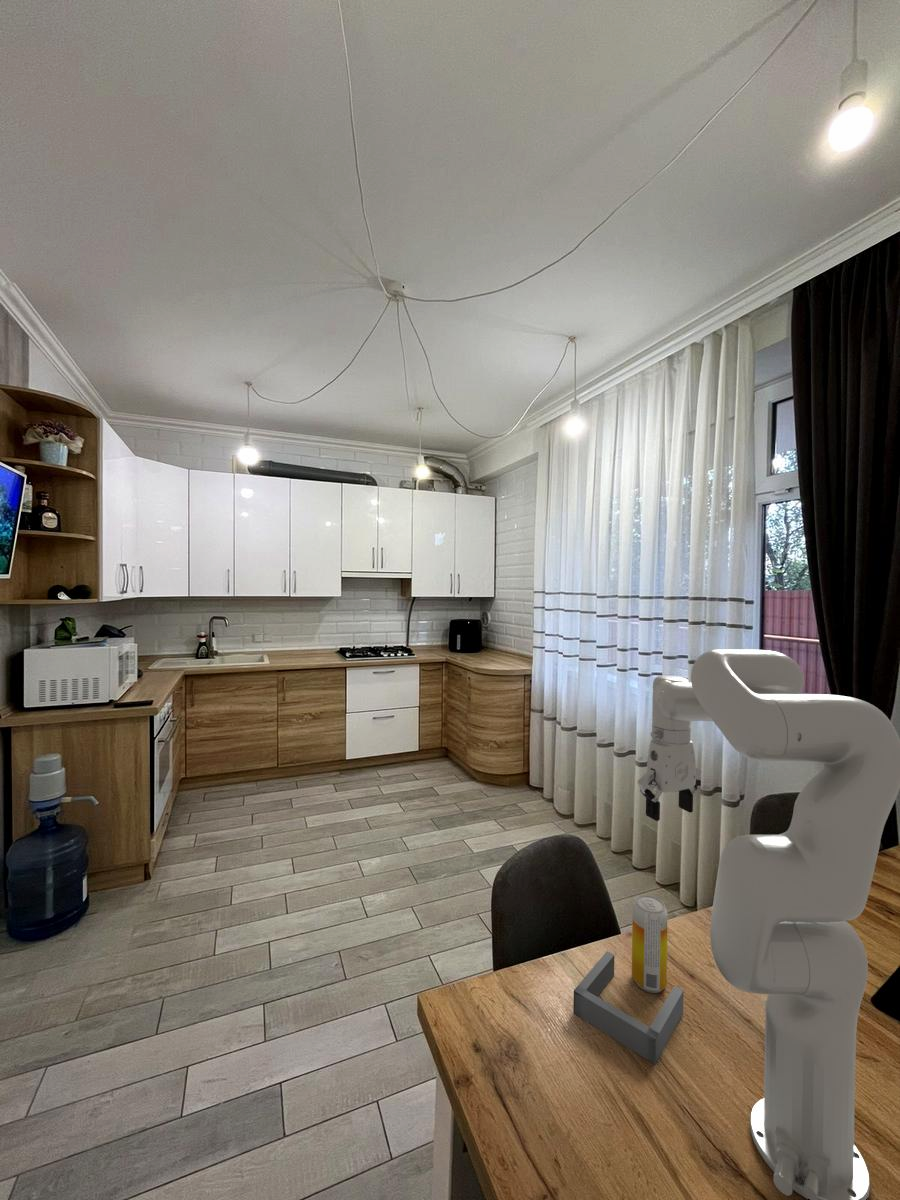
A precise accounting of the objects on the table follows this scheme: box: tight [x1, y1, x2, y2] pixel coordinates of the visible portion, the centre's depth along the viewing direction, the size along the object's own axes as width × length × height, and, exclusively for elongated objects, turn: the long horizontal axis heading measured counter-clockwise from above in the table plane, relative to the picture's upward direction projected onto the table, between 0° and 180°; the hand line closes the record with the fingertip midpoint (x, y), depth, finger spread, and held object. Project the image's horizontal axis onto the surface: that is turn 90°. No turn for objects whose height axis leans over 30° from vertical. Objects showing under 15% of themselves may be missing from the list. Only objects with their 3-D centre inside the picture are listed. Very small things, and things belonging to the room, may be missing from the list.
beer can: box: [631, 894, 669, 994], centre depth 93 cm, size 6×6×15 cm
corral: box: [572, 950, 684, 1066], centre depth 86 cm, size 13×14×4 cm
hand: (669, 813), depth 106 cm, fingers open, 9 cm apart
